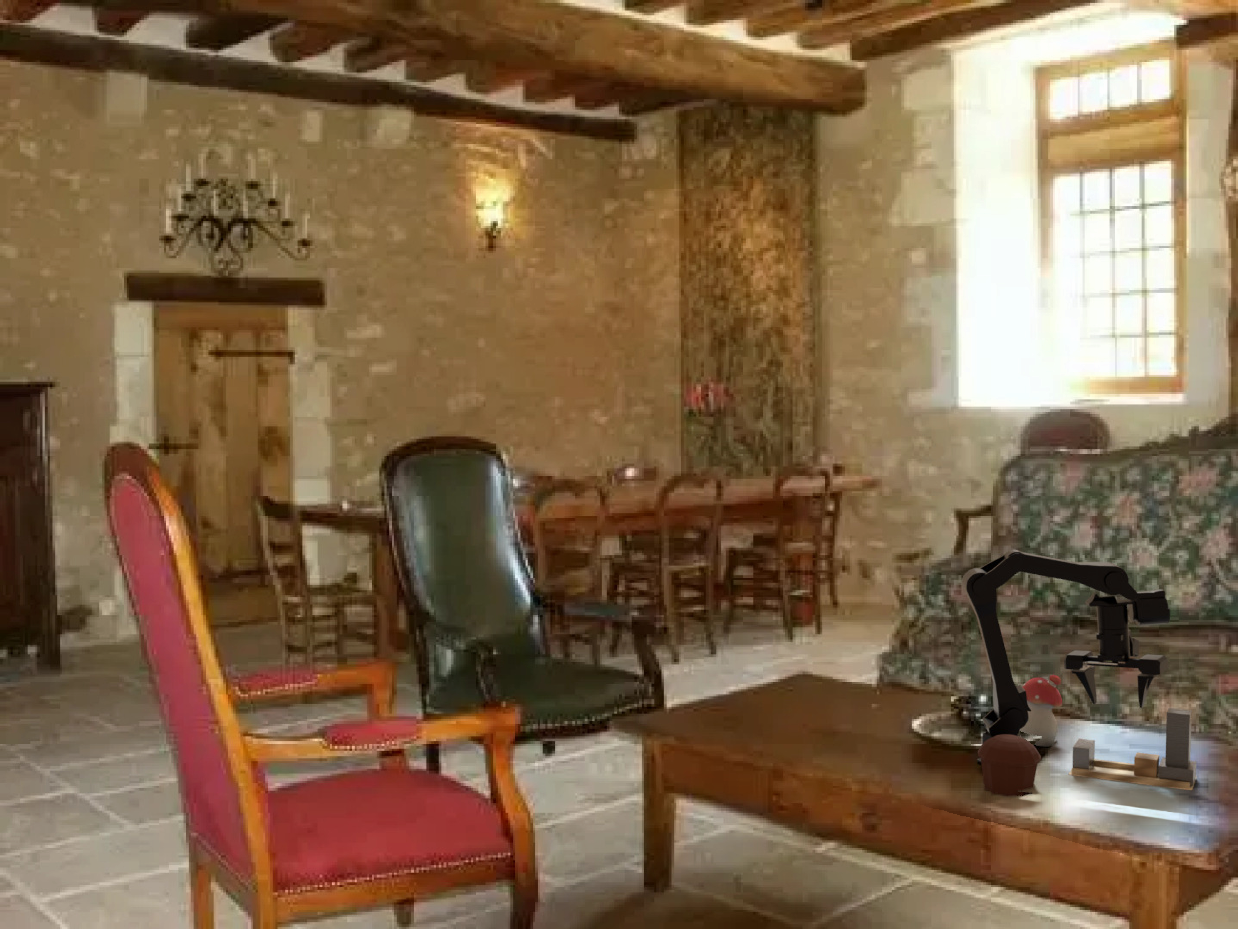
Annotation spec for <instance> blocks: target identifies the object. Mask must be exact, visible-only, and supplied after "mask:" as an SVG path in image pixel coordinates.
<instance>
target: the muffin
mask: <svg viewBox="0 0 1238 929" xmlns="http://www.w3.org/2000/svg"><path fill="white" fill-rule="evenodd" d="M977 755H978V757H979V759H981V763H980V764H981V770H982V777H983V786H984V790H986V791H988V792H990V793H992V794H994V795H1000V796H1003V797H1004V796H1005V797H1025V796H1028V795H1032V794H1033V792H1029V791H1026V790H1028V789H1033V788H1034V783H1035V780H1036V775H1037V774H1036V773H1037V767H1038V764H1039V763H1040V762H1041V760H1042V756H1041V754H1040V753H1039V751H1038V749H1037V748H1036V746H1034V745H1033V744H1031V743H1030V742H1029V741H1027V740H1026V739H1024V738H1022V737H1021V736H1019V735H1018V736H1015V735H1010V734H1003V735H996V736H994V737H992V738H990V739H988V740H986V741H985V742H984V743H983V742H982V744H981V745H980V747H979V748H978V750H977Z"/></svg>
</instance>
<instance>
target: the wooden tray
mask: <svg viewBox="0 0 1238 929" xmlns="http://www.w3.org/2000/svg"><path fill="white" fill-rule="evenodd" d="M1068 775H1070V776H1075V777H1077V776H1078V777H1084V778H1085V777H1086V778H1092V779H1098V780H1099V779H1101V780H1108V781H1115V782H1116V781H1117V782H1124V783H1133V784H1139V785H1148V786H1155V787H1164V788H1170V789H1171V788H1172V789H1178V790H1179V789H1180V790H1184V791H1185V790H1186V791H1187V790H1188V791H1193V788H1194V785H1195V783H1196V780H1197V777H1198V776H1197V775H1196V778H1195V781H1194V784H1193V786H1190V782H1183V781H1175V780H1167V779H1159V776H1158V778H1151V777H1143V776H1135V775H1134V763H1131V762H1130V763H1129V762H1122V761H1112V760H1105V759H1099V758H1098V759H1097V758H1094V767H1093V768H1092V770H1087V769H1079V768H1073V767H1071V770H1070V771H1069V773H1068Z"/></svg>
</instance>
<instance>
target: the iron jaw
mask: <svg viewBox="0 0 1238 929" xmlns="http://www.w3.org/2000/svg"><path fill="white" fill-rule="evenodd" d="M1095 742H1096V740H1095V739H1085V738H1078V739H1077V740H1076V742H1075V743H1074V744H1073V747H1072V768H1079V769H1087V770H1092V768H1093V767H1094V759H1095V753H1096V752H1095V749H1096V748H1095V746H1096V745H1095V744H1096V743H1095Z"/></svg>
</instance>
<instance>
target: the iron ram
mask: <svg viewBox="0 0 1238 929" xmlns="http://www.w3.org/2000/svg"><path fill="white" fill-rule="evenodd" d="M1192 711H1193V710H1192V709H1184V708H1176V707H1175V708H1174V707H1169V708H1168V710H1166V725H1165V726H1166V727H1165V731H1166V734H1165V757H1162V758H1161V760H1160V761H1159V779H1167V780H1175V781H1183V782H1190V786H1193V784H1194V785H1195V783H1194V781H1195V782H1196V780H1195V778H1196V779H1197V777H1196V776H1197V760H1196V761H1195V760H1191V751H1192V750H1191V749H1192V748H1191V747H1192V746H1191V745H1192V743H1191V742H1192V713H1193V712H1192ZM1193 787H1194V786H1193Z"/></svg>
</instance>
